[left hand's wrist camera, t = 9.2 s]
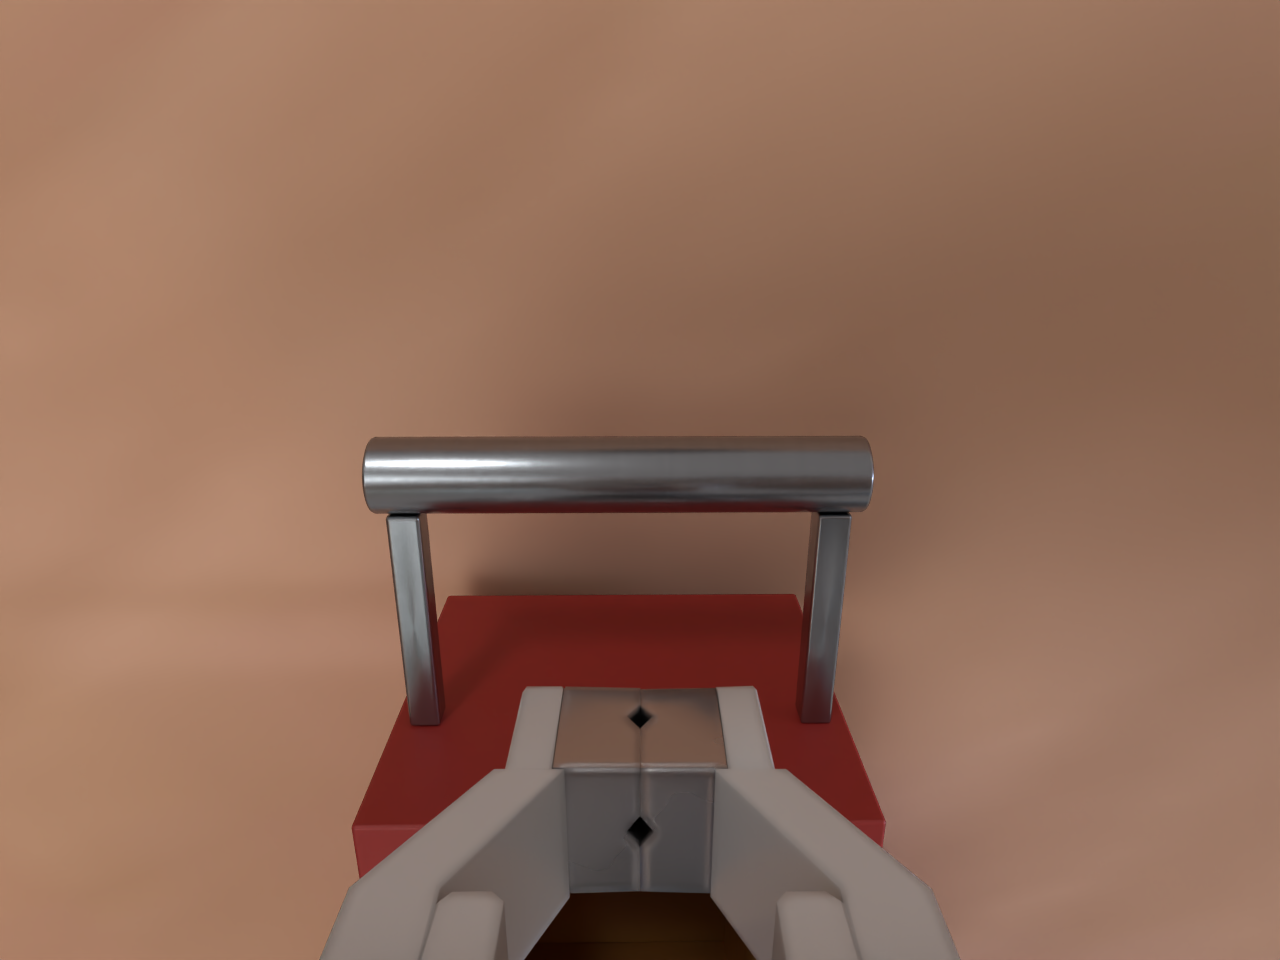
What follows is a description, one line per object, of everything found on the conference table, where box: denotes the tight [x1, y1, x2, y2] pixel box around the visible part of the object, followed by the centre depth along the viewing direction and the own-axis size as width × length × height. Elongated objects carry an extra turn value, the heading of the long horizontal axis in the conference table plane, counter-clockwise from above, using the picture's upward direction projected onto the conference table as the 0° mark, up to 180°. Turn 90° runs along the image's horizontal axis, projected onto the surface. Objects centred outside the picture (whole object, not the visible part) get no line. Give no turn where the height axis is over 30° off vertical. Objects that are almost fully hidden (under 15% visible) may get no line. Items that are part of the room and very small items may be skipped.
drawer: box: [352, 436, 886, 960], centre depth 18 cm, size 17×9×8 cm, turn 0°
